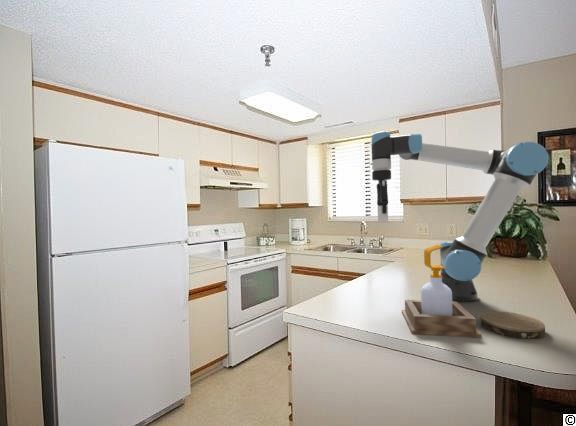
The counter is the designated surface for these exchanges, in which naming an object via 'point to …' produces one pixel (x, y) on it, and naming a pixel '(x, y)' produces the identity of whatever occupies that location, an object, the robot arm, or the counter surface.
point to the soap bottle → (435, 290)
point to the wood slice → (513, 325)
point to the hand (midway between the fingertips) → (382, 221)
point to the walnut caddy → (440, 321)
